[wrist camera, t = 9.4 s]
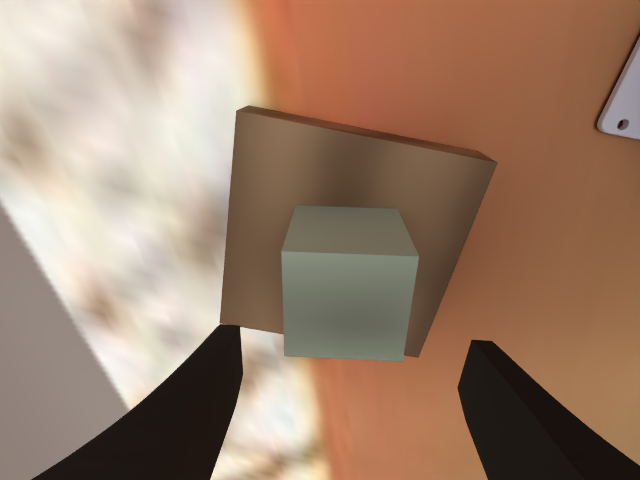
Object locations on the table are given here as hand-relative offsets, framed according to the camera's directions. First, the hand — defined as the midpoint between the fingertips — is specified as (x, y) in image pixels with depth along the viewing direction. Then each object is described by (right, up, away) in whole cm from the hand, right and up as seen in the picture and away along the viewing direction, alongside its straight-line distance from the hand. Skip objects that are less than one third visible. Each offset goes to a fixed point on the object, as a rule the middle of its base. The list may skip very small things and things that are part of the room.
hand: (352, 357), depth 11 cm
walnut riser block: (0, +4, +10) cm, 11 cm away
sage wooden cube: (0, +3, +7) cm, 8 cm away
